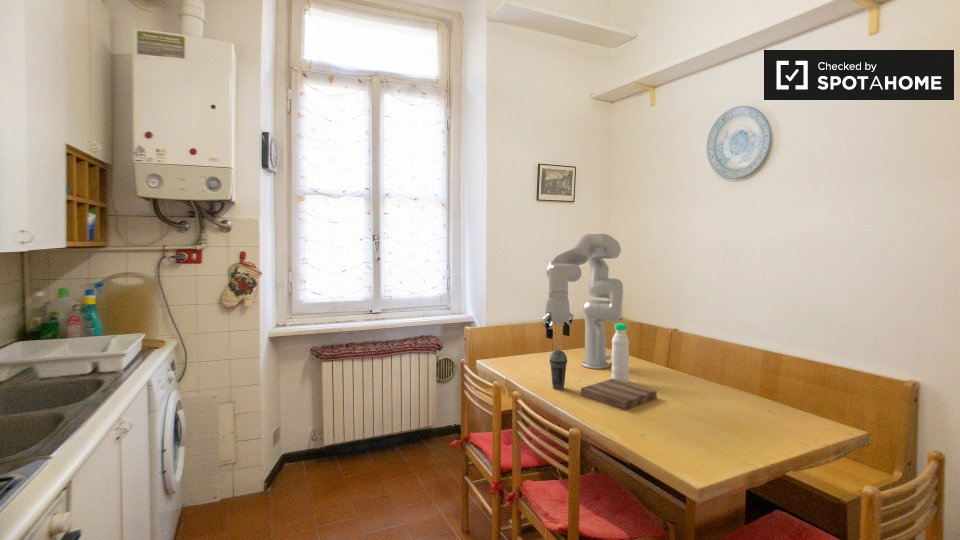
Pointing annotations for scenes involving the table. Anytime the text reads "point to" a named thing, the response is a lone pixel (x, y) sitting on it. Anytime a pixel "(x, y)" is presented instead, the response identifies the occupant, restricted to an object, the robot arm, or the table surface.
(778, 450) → the table surface
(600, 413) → the table surface
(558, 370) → the beverage cup
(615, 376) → the water bottle
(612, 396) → the walnut base board
